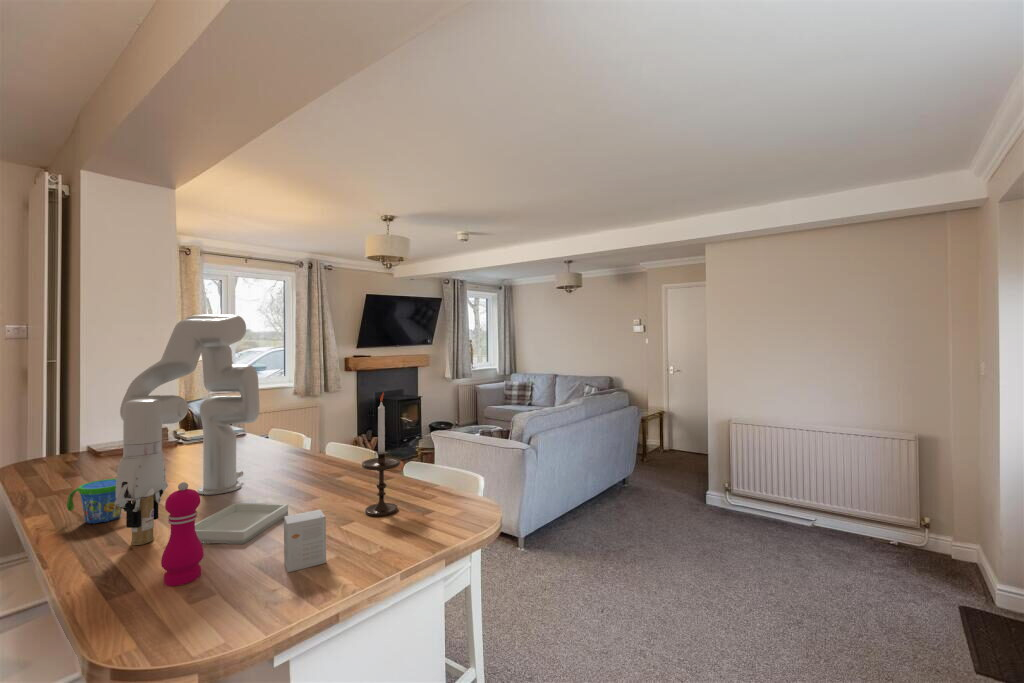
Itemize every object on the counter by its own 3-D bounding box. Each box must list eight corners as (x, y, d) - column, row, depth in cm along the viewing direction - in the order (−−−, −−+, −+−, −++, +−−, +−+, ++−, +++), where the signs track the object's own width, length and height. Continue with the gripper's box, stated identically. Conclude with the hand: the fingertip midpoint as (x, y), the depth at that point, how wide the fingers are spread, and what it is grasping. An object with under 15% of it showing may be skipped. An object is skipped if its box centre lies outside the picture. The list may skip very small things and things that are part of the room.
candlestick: (408, 507, 139) (407, 390, 139) (383, 520, 129) (383, 393, 129) (379, 502, 143) (379, 389, 144) (353, 514, 133) (353, 392, 134)
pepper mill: (175, 571, 100) (175, 477, 100) (210, 569, 100) (211, 476, 101) (152, 588, 93) (152, 488, 93) (190, 586, 93) (190, 487, 94)
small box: (321, 554, 108) (321, 508, 108) (326, 563, 103) (326, 516, 103) (283, 563, 104) (283, 515, 104) (286, 573, 99) (286, 523, 99)
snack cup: (145, 510, 137) (146, 476, 137) (124, 524, 127) (125, 486, 127) (83, 515, 134) (83, 479, 134) (56, 529, 123) (56, 491, 124)
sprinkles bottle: (153, 543, 114) (153, 488, 114) (129, 547, 112) (129, 491, 112) (154, 536, 118) (155, 483, 118) (131, 541, 116) (132, 486, 116)
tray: (234, 513, 134) (234, 503, 134) (288, 514, 133) (288, 504, 133) (181, 542, 114) (181, 530, 114) (243, 544, 113) (243, 531, 113)
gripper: (156, 442, 124) (156, 510, 124) (96, 457, 107) (95, 536, 107) (183, 442, 123) (183, 511, 123) (127, 457, 107) (126, 537, 106)
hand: (142, 522), depth 115 cm, fingers closed on sprinkles bottle, 4 cm apart
